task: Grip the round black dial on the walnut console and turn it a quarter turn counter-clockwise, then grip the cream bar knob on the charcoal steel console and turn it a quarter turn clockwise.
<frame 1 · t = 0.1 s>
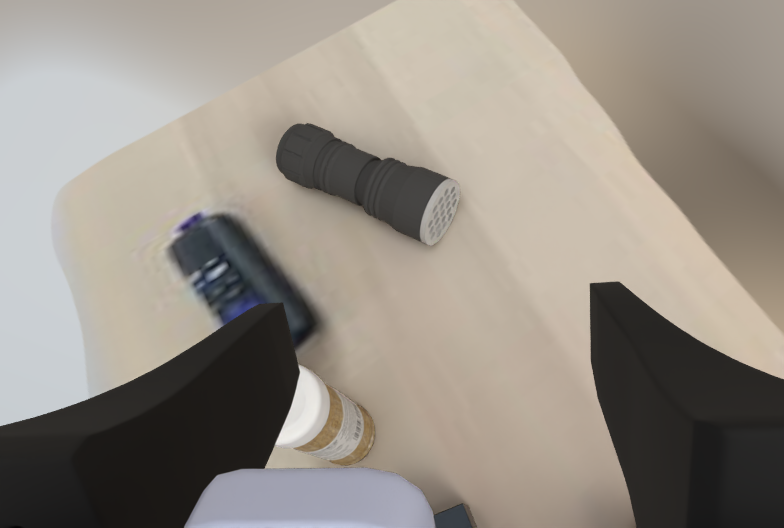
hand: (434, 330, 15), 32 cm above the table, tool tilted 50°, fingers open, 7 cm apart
sprinkles bottle: (347, 435, 47), on the table
flashlight: (374, 196, 54), on the table
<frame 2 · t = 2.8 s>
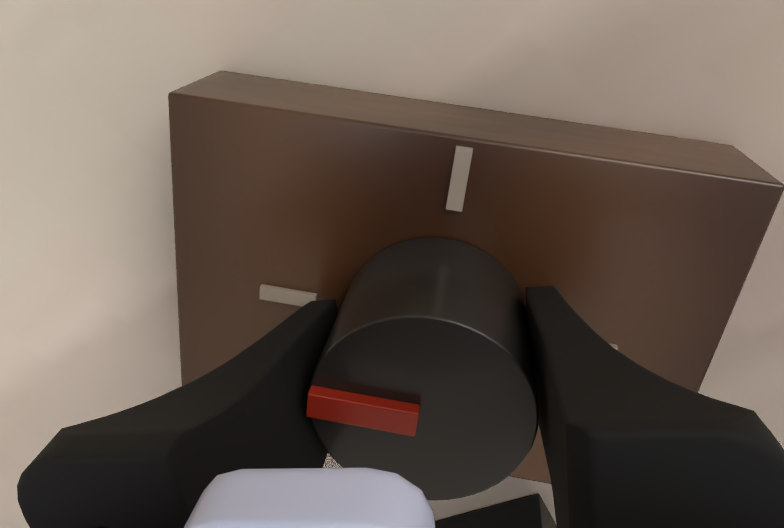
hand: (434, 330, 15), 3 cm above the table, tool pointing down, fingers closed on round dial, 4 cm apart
walnut console: (442, 265, 18), on the table
round dial: (427, 366, 13), point 5 cm above the table, hinge at -0.1°, touching gripper
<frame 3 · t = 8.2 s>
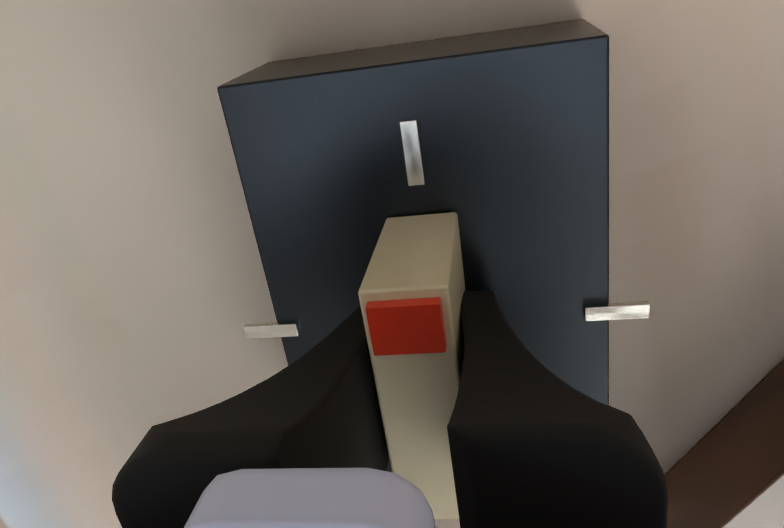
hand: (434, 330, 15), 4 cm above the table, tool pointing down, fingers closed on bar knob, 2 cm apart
steel console: (444, 257, 18), on the table
bar knob: (428, 365, 13), point 5 cm above the table, hinge at 0.0°, touching gripper
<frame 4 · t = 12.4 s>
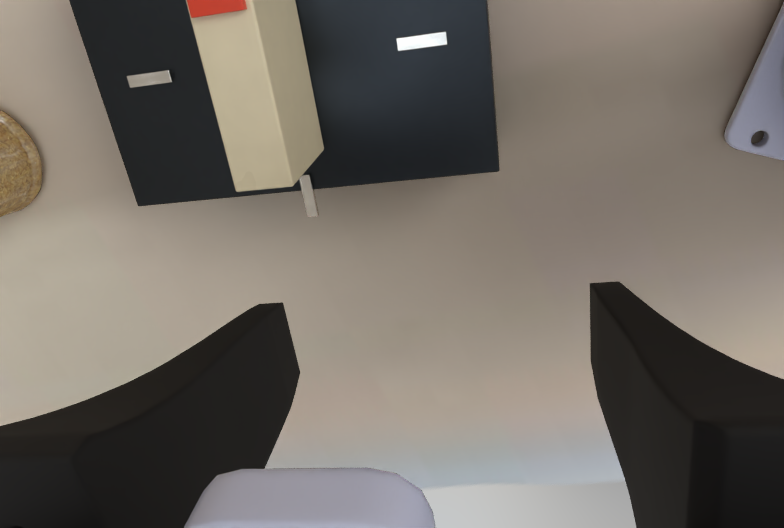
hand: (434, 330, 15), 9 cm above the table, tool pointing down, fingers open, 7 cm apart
steel console: (311, 45, 21), on the table
bar knob: (259, 71, 16), point 5 cm above the table, hinge at -90.0°
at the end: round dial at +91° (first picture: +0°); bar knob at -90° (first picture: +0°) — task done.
